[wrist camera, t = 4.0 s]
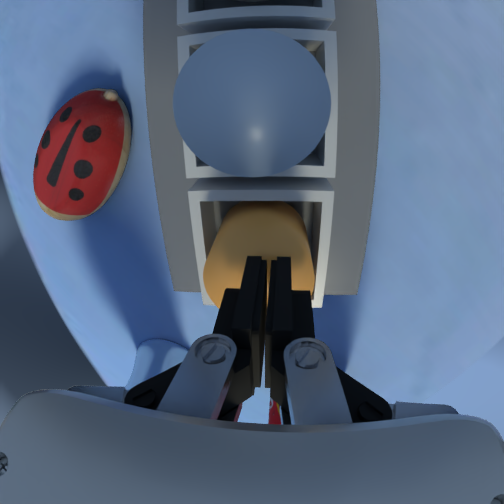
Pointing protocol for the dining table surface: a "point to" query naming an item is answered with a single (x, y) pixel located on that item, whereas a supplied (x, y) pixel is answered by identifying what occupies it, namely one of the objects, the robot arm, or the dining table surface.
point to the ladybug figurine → (82, 155)
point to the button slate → (251, 102)
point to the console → (293, 179)
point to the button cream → (251, 0)
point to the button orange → (258, 246)
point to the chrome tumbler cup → (155, 360)
